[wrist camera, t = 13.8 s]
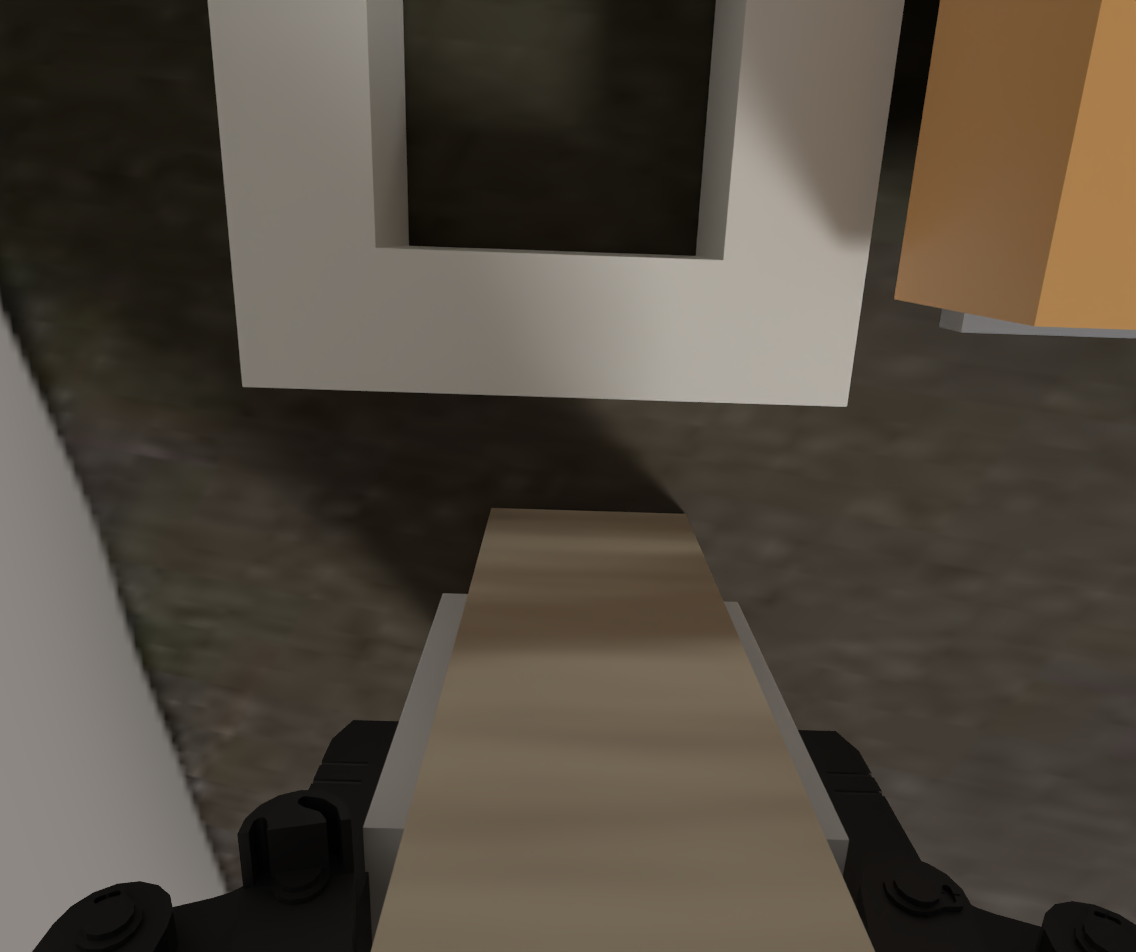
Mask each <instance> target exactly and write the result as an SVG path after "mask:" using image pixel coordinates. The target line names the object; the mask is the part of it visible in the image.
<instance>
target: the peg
mask: <svg viewBox="0 0 1136 952" xmlns="http://www.w3.org/2000/svg"><path fill="white" fill-rule="evenodd" d="M371 952H875V950H874V948H873V946H872V943H871V941H870V939H869V937H868V934H867V932H866V930H865V927H864V925H863V923H862V920H861V918H860V916H859V913H858V911H857V909H856V906H855V904H854V902H853V900H852V897H851V895H850V893H849V890H848V888H847V886H846V883H845V881H844V879H843V876H842V874H841V872H840V870H839V867H838V865H837V863H836V860H835V858H834V856H833V853H832V851H831V849H830V846H829V844H828V842H827V839H826V837H825V835H824V833H823V830H822V828H821V826H820V823H819V821H818V819H817V816H816V814H815V812H814V809H813V807H812V805H811V802H810V800H809V798H808V796H807V793H806V791H805V789H804V786H803V784H802V782H801V779H800V777H799V775H798V772H797V770H796V768H795V766H794V763H793V761H792V759H791V756H790V754H789V752H788V749H787V747H786V745H785V742H784V740H783V738H782V735H781V733H780V731H779V729H778V726H777V724H776V722H775V719H774V717H773V715H772V712H771V710H770V708H769V705H768V703H767V701H766V699H765V696H764V694H763V692H762V689H761V687H760V685H759V682H758V680H757V678H756V675H755V673H754V671H753V668H752V666H751V664H750V662H749V659H748V657H747V655H746V652H745V650H744V648H743V645H742V643H741V641H740V638H739V636H738V634H737V631H736V629H735V627H734V625H733V622H732V620H731V618H730V615H729V613H728V611H727V608H726V606H725V604H724V601H723V599H722V597H721V595H720V592H719V590H718V588H717V585H716V583H715V581H714V578H713V576H712V574H711V571H710V569H709V567H708V564H707V562H706V560H705V558H704V555H703V553H702V551H701V548H700V546H699V544H698V541H697V539H696V537H695V534H694V532H693V530H692V527H691V525H690V523H689V521H688V518H687V516H686V514H673V513H641V512H609V511H576V510H544V509H512V508H491V511H490V515H489V518H488V522H487V526H486V529H485V533H484V537H483V540H482V544H481V548H480V551H479V555H478V559H477V563H476V566H475V570H474V574H473V577H472V581H471V585H470V588H469V592H468V596H467V599H466V603H465V607H464V610H463V614H462V618H461V621H460V625H459V629H458V632H457V636H456V640H455V643H454V647H453V651H452V655H451V658H450V662H449V666H448V669H447V673H446V677H445V680H444V684H443V688H442V691H441V695H440V699H439V702H438V706H437V710H436V713H435V717H434V721H433V724H432V728H431V732H430V735H429V739H428V743H427V747H426V750H425V754H424V758H423V761H422V765H421V769H420V772H419V776H418V780H417V783H416V787H415V791H414V794H413V798H412V802H411V805H410V809H409V813H408V816H407V820H406V824H405V827H404V831H403V835H402V838H401V842H400V846H399V850H398V853H397V857H396V861H395V864H394V868H393V872H392V875H391V879H390V883H389V886H388V890H387V894H386V897H385V901H384V905H383V908H382V912H381V916H380V919H379V923H378V927H377V930H376V934H375V938H374V942H373V945H372V949H371Z"/></svg>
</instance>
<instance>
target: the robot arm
mask: <svg viewBox="0 0 1136 952" xmlns="http://www.w3.org/2000/svg"><path fill="white" fill-rule="evenodd" d="M467 596H468V594H451V593H443V594H442V597H441V600H440V603H439V606H438V609H437V612H436V615H435V618H434V621H433V623H432V626H431V629H430V632H429V635H428V638H427V641H426V644H425V647H424V650H423V653H422V656H421V659H420V662H419V664H418V667H417V670H416V673H415V676H414V679H413V682H412V685H411V688H410V691H409V694H408V697H407V700H406V703H405V706H404V708H403V711H402V714H401V717H400V720H399V721H363V720H353V721H352V722H351V723H350V724H348V725H347V726H346V727H345V728H344V729H343V730H342V731H341V732H339V733H338V734H337V735H336V736H335V737H334V738H333V739H332V740H331V742H330V745H329V747H328V749H327V751H326V753H325V755H324V758H323V760H322V765H320V766H319V768H318V771H317V773H316V775H315V777H314V781H313V784H311V786H310V788H309V790H299V791H295V792H291V793H287V794H283V795H279V796H277V797H275V798H273V799H271V800H269V801H267V802H265V803H263V804H261V805H260V806H259V807H257V808H256V809H255V810H254V811H253V812H252V813H251V814H250V815H249V816H248V817H247V818H245V820H244V822H243V824H242V826H241V828H240V830H239V832H238V843H239V852H240V861H241V870H242V879H243V887H241V888H239V889H237V890H235V891H233V892H230V893H227V894H224V895H221V896H218V897H214V898H211V899H206V900H202V901H198V902H193V903H189V904H185V905H181V906H176V907H172V903H171V898H170V895H169V894H168V893H167V892H166V891H164V890H163V889H162V888H161V887H160V886H159V885H154V884H150V883H145V882H141V881H139V882H130V883H121V884H116V885H113V886H110V887H107V888H105V889H102V890H99V891H97V892H94V893H92V894H90V895H89V896H87V897H86V898H84V899H82V900H81V901H79V902H77V903H76V904H74V905H73V906H71V907H70V908H69V909H68V910H67V911H66V912H65V913H64V914H63V915H62V916H61V917H60V918H59V919H58V920H57V921H56V922H55V923H54V924H53V925H52V927H51V928H50V929H49V931H48V932H47V933H46V935H45V936H44V937H43V938H42V940H41V941H40V942H39V944H38V945H37V946H36V948H35V949H34V950H33V952H371V949H372V945H373V942H374V938H375V934H376V930H377V927H378V923H379V919H380V916H381V912H382V908H383V905H384V901H385V897H386V894H387V890H388V886H389V883H390V879H391V875H392V872H393V868H394V864H395V861H396V857H397V853H398V850H399V846H400V842H401V838H402V835H403V831H404V827H405V824H406V820H407V816H408V813H409V809H410V805H411V802H412V798H413V794H414V791H415V787H416V783H417V780H418V776H419V772H420V769H421V765H422V761H423V758H424V754H425V750H426V747H427V743H428V739H429V735H430V732H431V728H432V724H433V721H434V717H435V713H436V710H437V706H438V702H439V699H440V695H441V691H442V688H443V684H444V680H445V677H446V673H447V669H448V666H449V662H450V658H451V655H452V651H453V647H454V643H455V640H456V636H457V632H458V629H459V625H460V621H461V618H462V614H463V610H464V607H465V603H466V599H467ZM724 604H725V606H726V608H727V611H728V613H729V615H730V618H731V620H732V622H733V625H734V627H735V629H736V631H737V634H738V636H739V638H740V641H741V643H742V645H743V648H744V650H745V652H746V655H747V657H748V659H749V662H750V664H751V666H752V668H753V671H754V673H755V675H756V678H757V680H758V682H759V685H760V687H761V689H762V692H763V694H764V696H765V699H766V701H767V703H768V705H769V708H770V710H771V712H772V715H773V717H774V719H775V722H776V724H777V726H778V729H779V731H780V733H781V735H782V738H783V740H784V742H785V745H786V747H787V749H788V752H789V754H790V756H791V759H792V761H793V763H794V766H795V768H796V770H797V772H798V775H799V777H800V779H801V782H802V784H803V786H804V789H805V791H806V793H807V796H808V798H809V800H810V802H811V805H812V807H813V809H814V812H815V814H816V816H817V819H818V821H819V823H820V826H821V828H822V830H823V833H824V835H825V837H826V839H827V842H828V844H829V846H830V849H831V851H832V853H833V856H834V858H835V860H836V863H837V865H838V867H839V870H840V872H841V874H842V876H843V879H844V881H845V883H846V886H847V888H848V890H849V893H850V895H851V897H852V900H853V902H854V904H855V906H856V909H857V911H858V913H859V916H860V918H861V920H862V923H863V925H864V927H865V930H866V932H867V934H868V937H869V939H870V941H871V943H872V946H873V948H874V950H875V952H1136V925H1135V924H1134V923H1132V922H1130V921H1129V920H1127V919H1126V918H1124V917H1122V916H1121V915H1119V914H1117V913H1114V912H1112V911H1109V910H1106V909H1104V908H1101V907H1099V906H1096V905H1093V904H1086V903H1080V902H1074V901H1071V902H1065V903H1059V904H1055V905H1054V906H1053V907H1052V908H1051V909H1049V910H1048V911H1047V912H1046V913H1045V916H1044V920H1043V923H1042V927H1040V926H1036V925H1032V924H1029V923H1025V922H1022V921H1018V920H1014V919H1011V918H1007V917H1004V916H1000V915H996V914H993V913H990V912H987V911H985V910H982V909H979V908H976V907H974V906H972V905H971V904H970V902H969V900H968V898H967V897H966V895H965V893H964V891H963V890H962V889H961V888H960V887H959V886H958V885H957V884H956V883H955V882H954V881H953V880H952V879H951V878H950V877H949V876H948V875H947V874H945V873H943V872H942V871H940V870H938V869H936V868H935V867H933V866H931V865H929V864H928V863H925V862H922V861H921V860H920V858H919V856H918V854H917V853H916V851H915V849H914V847H913V846H912V844H911V842H910V840H909V839H908V837H907V835H906V833H905V832H904V830H903V828H902V826H901V825H900V823H899V821H898V819H897V817H896V816H895V814H894V812H893V810H892V809H891V807H890V805H889V803H888V802H887V800H886V798H885V796H882V791H881V789H880V788H879V786H878V784H877V782H876V781H875V779H874V778H872V777H871V772H870V770H869V768H868V766H867V765H866V763H865V761H864V759H863V758H862V756H861V754H860V752H859V751H858V750H857V749H856V748H855V747H853V746H852V745H851V744H850V743H849V742H848V741H846V740H845V739H844V738H843V737H842V736H841V735H839V734H838V733H837V732H836V731H809V730H797V728H796V725H795V723H794V721H793V719H792V717H791V715H790V713H789V711H788V708H787V706H786V704H785V702H784V700H783V698H782V696H781V693H780V691H779V689H778V687H777V685H776V683H775V681H774V679H773V676H772V674H771V672H770V670H769V668H768V666H767V664H766V661H765V659H764V657H763V655H762V653H761V651H760V649H759V647H758V644H757V642H756V640H755V638H754V636H753V634H752V632H751V629H750V627H749V625H748V623H747V621H746V619H745V617H744V615H743V612H742V610H741V608H740V606H739V604H738V602H724Z"/></svg>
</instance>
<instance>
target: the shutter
mask: <svg viewBox="0 0 1136 952" xmlns="http://www.w3.org/2000/svg"><path fill="white" fill-rule="evenodd" d="M894 299H896V300H901V301H906V302H911V303H916V304H921V305H927V306H932V307H937V308H942V313H941V319H940V324H939V327H941V328H945V329H949V330H953V331H957V332H964V333H993V334H1022V335H1052V336H1081V337H1110V338H1136V0H940V5H939V11H938V18H937V24H936V31H935V37H934V44H933V50H932V57H931V63H930V70H929V76H928V83H927V89H926V96H925V102H924V109H923V115H922V122H921V128H920V135H919V141H918V148H917V154H916V161H915V167H914V174H913V180H912V187H911V193H910V200H909V206H908V213H907V219H906V225H905V232H904V238H903V245H902V251H901V258H900V264H899V271H898V277H897V284H896V290H895V297H894Z"/></svg>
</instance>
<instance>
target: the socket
mask: <svg viewBox="0 0 1136 952" xmlns="http://www.w3.org/2000/svg"><path fill="white" fill-rule="evenodd" d="M904 2H905V0H716V5H715V18H714V30H713V43H712V56H711V68H710V81H709V93H708V106H707V119H706V131H705V144H704V156H703V169H702V182H701V194H700V207H699V219H698V232H697V245H696V256H685V255H657V254H629V253H600V252H572V251H544V250H516V249H487V248H459V247H431V246H409V226H408V186H407V146H406V106H405V67H404V27H403V0H208V11H209V22H210V33H211V44H212V55H213V66H214V77H215V89H216V100H217V111H218V122H219V133H220V144H221V155H222V166H223V177H224V188H225V199H226V210H227V221H228V233H229V244H230V255H231V266H232V277H233V288H234V299H235V310H236V321H237V332H238V343H239V354H240V365H241V377H242V387H261V388H292V389H322V390H353V391H383V392H413V393H444V394H474V395H505V396H535V397H565V398H596V399H626V400H657V401H687V402H718V403H748V404H778V405H809V406H839V407H847V403H848V396H849V389H850V382H851V375H852V367H853V360H854V353H855V346H856V339H857V332H858V325H859V318H860V311H861V304H862V297H863V290H864V283H865V276H866V269H867V262H868V255H869V248H870V241H871V234H872V227H873V220H874V213H875V206H876V199H877V192H878V185H879V178H880V171H881V164H882V157H883V150H884V143H885V136H886V129H887V122H888V115H889V107H890V100H891V93H892V86H893V79H894V72H895V65H896V58H897V51H898V44H899V37H900V30H901V23H902V16H903V9H904Z"/></svg>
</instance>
